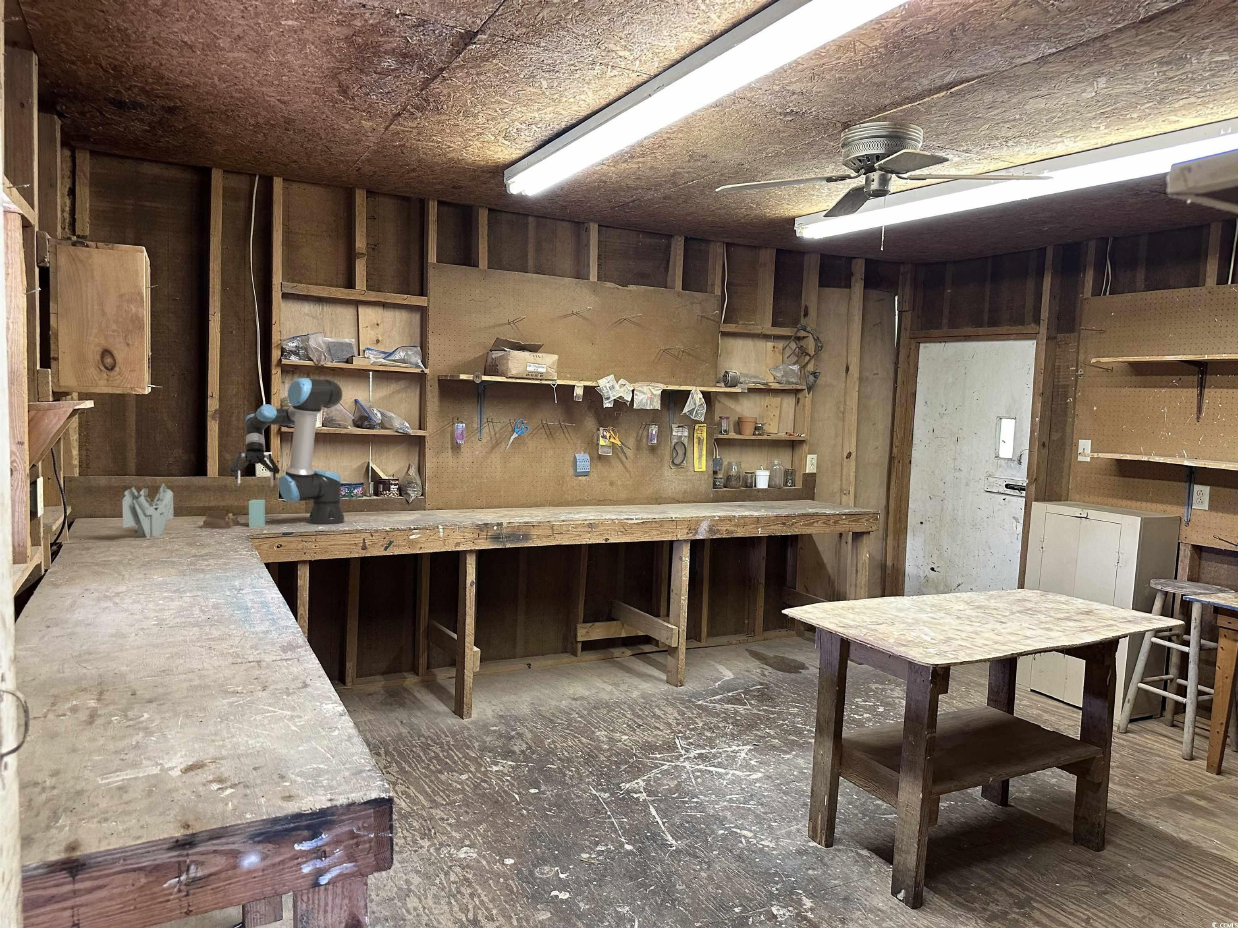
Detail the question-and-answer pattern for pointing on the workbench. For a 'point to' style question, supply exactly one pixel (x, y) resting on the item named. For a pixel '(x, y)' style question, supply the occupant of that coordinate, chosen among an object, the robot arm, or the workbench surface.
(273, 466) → the robot arm
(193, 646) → the workbench surface
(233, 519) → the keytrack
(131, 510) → the bracket
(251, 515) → the mint green box
